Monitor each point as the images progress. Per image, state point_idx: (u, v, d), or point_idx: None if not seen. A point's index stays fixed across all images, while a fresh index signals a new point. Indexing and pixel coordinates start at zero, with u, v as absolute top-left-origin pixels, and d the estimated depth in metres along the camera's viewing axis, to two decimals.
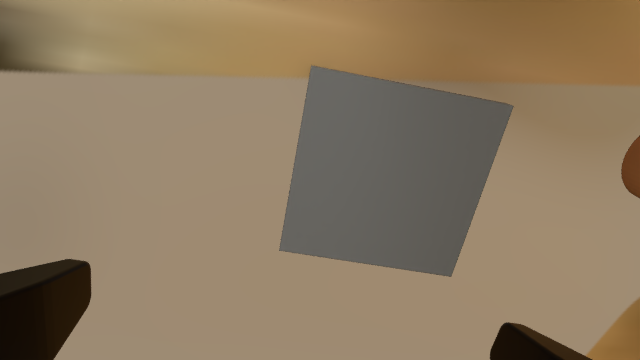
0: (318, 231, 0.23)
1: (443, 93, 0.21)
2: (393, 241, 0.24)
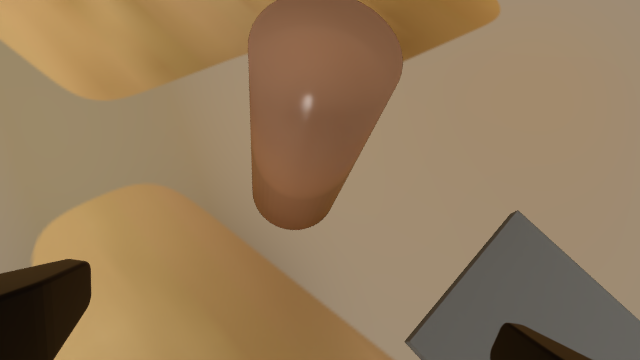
0: (623, 339, 0.22)
1: None
2: (557, 280, 0.23)
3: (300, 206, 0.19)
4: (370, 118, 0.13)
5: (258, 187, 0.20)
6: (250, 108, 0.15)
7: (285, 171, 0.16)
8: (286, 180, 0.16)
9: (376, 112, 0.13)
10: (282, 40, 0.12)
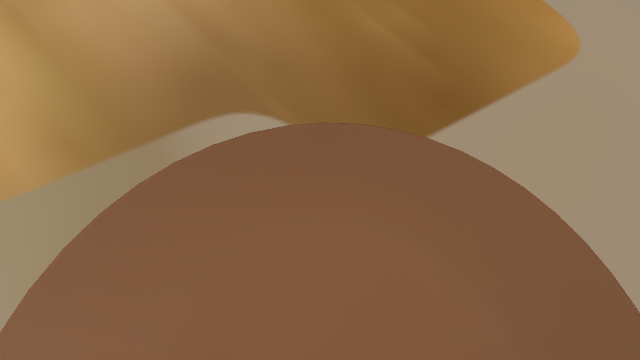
0: None
1: None
2: None
3: None
4: None
5: None
6: None
7: None
8: None
9: None
10: None
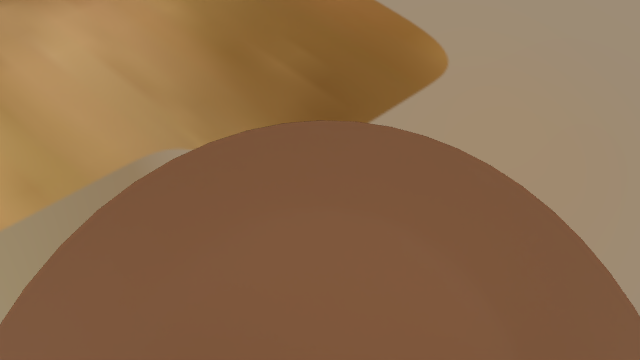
0: None
1: None
2: None
3: None
4: None
5: None
6: None
7: None
8: None
9: None
10: None
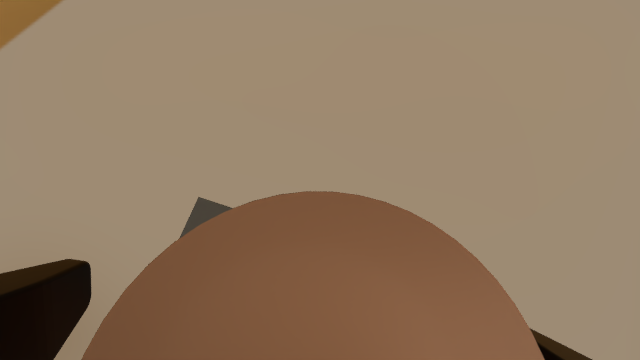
0: None
1: None
2: None
3: None
4: None
5: None
6: None
7: None
8: None
9: None
10: None
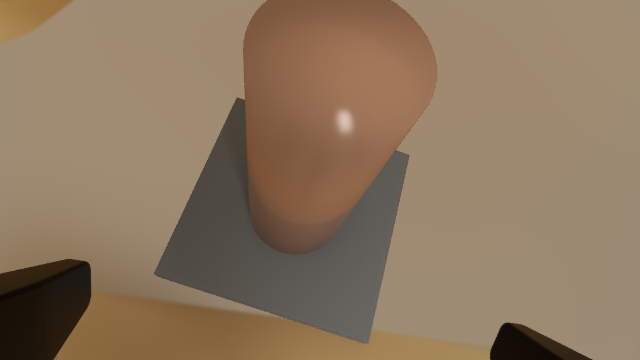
0: None
1: (230, 297, 0.19)
2: None
3: (303, 233, 0.16)
4: (396, 141, 0.10)
5: (255, 209, 0.17)
6: (246, 123, 0.12)
7: (288, 198, 0.13)
8: (289, 207, 0.14)
9: (404, 134, 0.10)
10: (286, 42, 0.10)
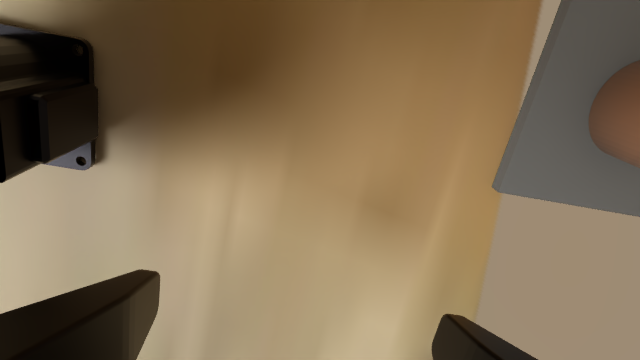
0: None
1: (551, 56, 0.18)
2: None
3: None
4: None
5: None
6: None
7: None
8: None
9: None
10: None
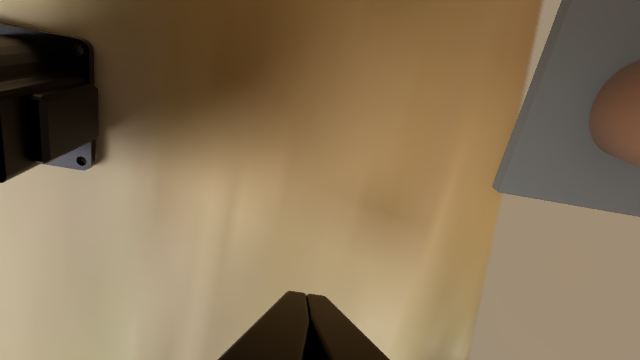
0: None
1: (551, 56, 0.18)
2: None
3: None
4: None
5: None
6: None
7: None
8: None
9: None
10: None
